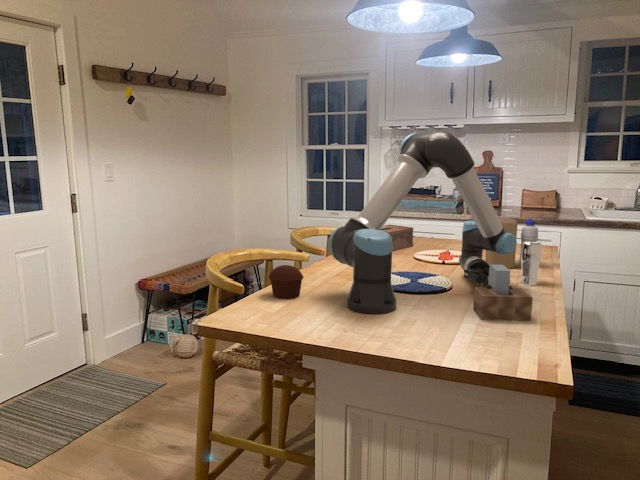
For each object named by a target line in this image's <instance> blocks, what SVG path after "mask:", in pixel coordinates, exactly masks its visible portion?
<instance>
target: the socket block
mask: <svg viewBox="0 0 640 480" xmlns="http://www.w3.org/2000/svg"><path fill="white" fill-rule="evenodd" d="M472 309H473V311H474V312H475V314H476V315H477V317H478V318H479V319H480V320H481V321H512V320H514V321H513V322H515V321H519V322H520V321H523V322H531V320H532V310H533V296H532V295H530V294H529V293H528V292H527V291H526V290H525V289H524V288H522V287H512V285H511V284H509V295H497V294H496V293H495V292H494V291H493V290H492V289H491V285H486V287H484V286H482V287H481V286H474V291H473V307H472Z"/></svg>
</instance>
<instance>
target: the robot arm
mask: <svg viewBox="0 0 640 480" xmlns="http://www.w3.org/2000/svg"><path fill="white" fill-rule="evenodd" d="M399 149H400V151H399V155H398V156H397V162H398V163H397V164H396V166H395V167H394V168H393V169H392V171H391V173H389V175H388V176H387V177H386V179H385V180H384V182H383V183H382V184H381V185H380V186H379V188H378V189H377V191H376V192H375V193H374V194H373V196H372V197H371V198H370V200H369V201H368V202H367V203H366V205H365V206H364V207H363V209H362V210H361V211H360V212H359V214H358V216H356V217H351V218H349V220H348V221H347V222H346V223H345V225H344V226H340V227H337V228H336V229H334V230H333V231H332V232H331V234H330V235H329V238H328V242H327V243H328V244H327V245H328V250H329V253H330V255H331V257H332V258H333V259H335V260H336V261H338V263H340V264H343V265H347V266H349V267H351V268H353V269H352V271H353V275H352V276H353V278H352V279H353V280H352V284H351V287H350V290H349V293H348V295H347V299H346V301H347V302H346V307H347V308H348V309H350V310H351V311H354V312H357V313H361V314H369V315H370V314H373V315H374V314H376V315H377V314H386V313H390V312H393V311H395V310H396V309H397V298H396V295H395V292H394V287H393V286H392V269H393V268H392V266H393V265H392V264H393V252H392V250H393V246H392V238H391V236H390V235H389V234H388V233H386V232H384V231H380V229H381V228H382V226H384V225H386V223H387V221H388V220H389V218H390V217H391V216H392V215H393V213H394V212H395V211H396V209H397V208H398V206H400V204H401V203H402V201H403V200H404V198H405V197H406V196H407V195H408V193H409V192H410V190H411V189H412V188H413V187H414V185H415V184H416V183H417V181H418V180H419V179H425V178H426V177H427V176H428V175H429V173H430V172H431V170H432V169H433V168H439V169H440V170H442V172H444V174H445V176H446V178H448V179H451V180H452V182H453V184H454V186H455V187H456V189H457V191H458V193H459V195H460V197H461V199H462V201H463V203H464V204H465V206H466V208H467V210H468V211H469V214H470V216H471V217H472V220H466V221H464V222H463V227H462V233H461V234H462V238H461V239H462V242H461V254H460V256H459V258H458V263H459V266H460V267H461V269H462V270H463V278H467V279H468V280H470V281H472V282H474V283H475V284H477V285H480V284H482V287H486V285H488V281H489V264H488V263H487V262H485V259H483V252H484V251H486V250H487V251H491V252H495V253H498V254H505V255H508V254H511V253H512V252H513V251H514V250H515V248H516V249H517V244H518V243H517V237H515V236H514V235H513V234H510V233H506V232H505V230H504V228H503V226H502V224H501V222H500V220H499V218H500V217H499V216H498V214H497V212H496V210H495V208H494V206H493V204H492V202H491V200H490V198H489V196H488V194H487V192H486V190H485V188H484V186H483V184H482V182H481V180H480V178H479V176H478V175H477V172H476V170H475V168H474V167H475V161H474V159H473V157H472V155H471V153H470V152H469V150H468V149H467V147H466V146H465V145H464V143H463V142H462V141H461V140H460V139H459V138H458V137H457V136H456V135H454V134H453V133H450V132H448V131H443V130H440V131H439V130H438V131H417V132H413V133H411V134H409V135H407V136H406V137H405V138H404V139H403V140H402V141H401V144H400V148H399Z"/></svg>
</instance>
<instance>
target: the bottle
mask: <svg viewBox="0 0 640 480" xmlns="http://www.w3.org/2000/svg"><path fill="white" fill-rule="evenodd" d="M520 240H521V243H520V247H521V246H522V242H537V241H538V240H539V227H537V226H535V220H534V219H526V221H525V225H524V226H522V229H521V233H520ZM519 266H520V267H521V261H520V259H519Z"/></svg>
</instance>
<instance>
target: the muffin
mask: <svg viewBox="0 0 640 480" xmlns="http://www.w3.org/2000/svg"><path fill="white" fill-rule="evenodd" d="M268 279H269V281H270V284H271V290H272V296H273V298H274V299H278V300H286V301H287V300H294V299H297V298H299V297H300V295H301V288H302V282H303V280H304V275H303V274H302V272H301V270H299V268H297V267H296V266H293V265H289V264H284V265H283V264H282V265H279V266H277V267H275V268H273V269H272V270H271V271H270V273H269V274H268Z"/></svg>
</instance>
